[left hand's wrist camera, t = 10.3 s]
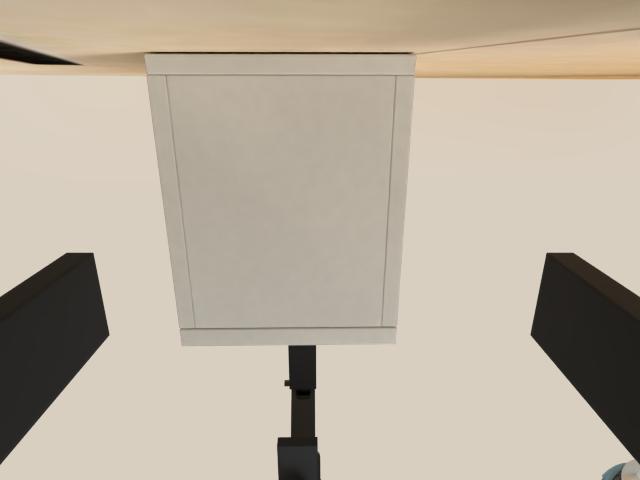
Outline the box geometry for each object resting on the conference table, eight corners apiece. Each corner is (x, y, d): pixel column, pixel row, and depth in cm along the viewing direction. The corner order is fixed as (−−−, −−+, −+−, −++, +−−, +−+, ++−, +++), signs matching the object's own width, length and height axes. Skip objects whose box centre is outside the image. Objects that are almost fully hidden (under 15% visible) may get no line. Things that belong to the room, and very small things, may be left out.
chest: (366, 68, 29) (360, 222, 33) (225, 68, 29) (236, 223, 33) (416, 53, 15) (397, 326, 19) (142, 53, 15) (179, 328, 19)
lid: (359, 220, 34) (356, 313, 37) (238, 220, 34) (244, 314, 37) (397, 327, 19) (386, 470, 22) (179, 329, 19) (198, 473, 22)
